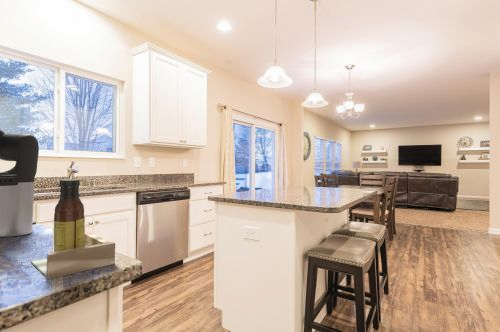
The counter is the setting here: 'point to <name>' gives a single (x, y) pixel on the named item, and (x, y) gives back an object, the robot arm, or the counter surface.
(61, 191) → the sauce bottle
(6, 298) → the counter surface
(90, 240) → the beige l-shaped piece
